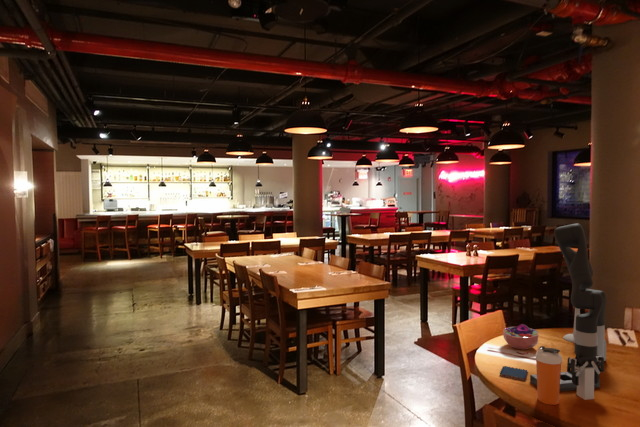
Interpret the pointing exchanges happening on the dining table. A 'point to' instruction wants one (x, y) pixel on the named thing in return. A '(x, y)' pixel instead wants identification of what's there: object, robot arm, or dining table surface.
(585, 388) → the peg
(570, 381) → the grey slotted frame
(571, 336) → the candlestick
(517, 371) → the woven mat
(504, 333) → the cell model
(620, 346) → the dining table surface
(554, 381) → the shaker bottle
